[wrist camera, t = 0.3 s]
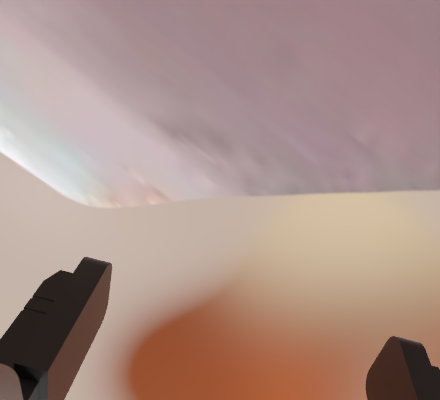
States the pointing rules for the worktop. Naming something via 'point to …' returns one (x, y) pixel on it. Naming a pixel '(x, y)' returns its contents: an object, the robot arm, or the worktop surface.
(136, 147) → the worktop surface
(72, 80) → the worktop surface
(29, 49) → the worktop surface
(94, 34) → the worktop surface
